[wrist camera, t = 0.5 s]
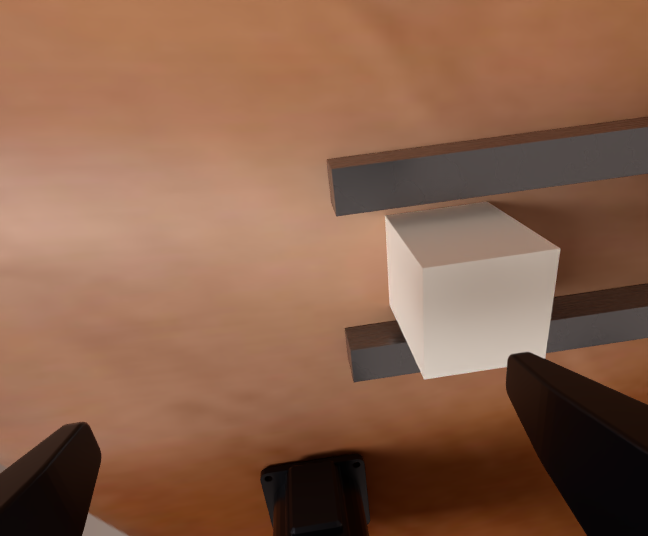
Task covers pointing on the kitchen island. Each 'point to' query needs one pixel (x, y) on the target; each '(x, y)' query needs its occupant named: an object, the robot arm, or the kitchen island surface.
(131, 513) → the kitchen island surface
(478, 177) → the track
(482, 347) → the block
